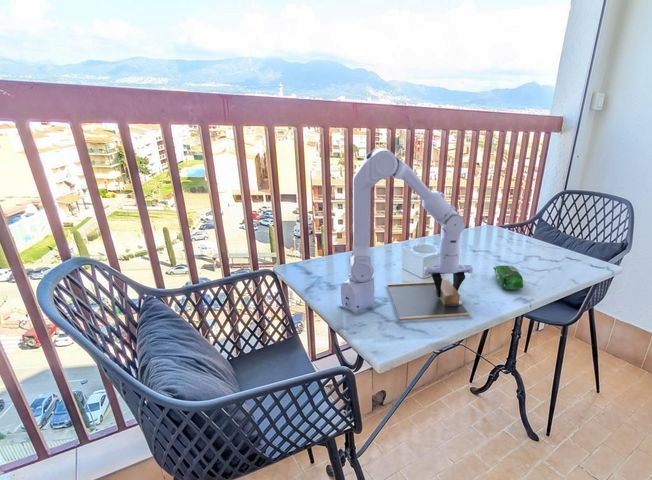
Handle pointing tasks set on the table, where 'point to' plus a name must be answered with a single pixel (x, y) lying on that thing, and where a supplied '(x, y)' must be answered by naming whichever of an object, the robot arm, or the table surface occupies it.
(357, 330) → the table surface
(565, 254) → the table surface
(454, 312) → the slate board
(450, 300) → the eraser
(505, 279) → the snack package
